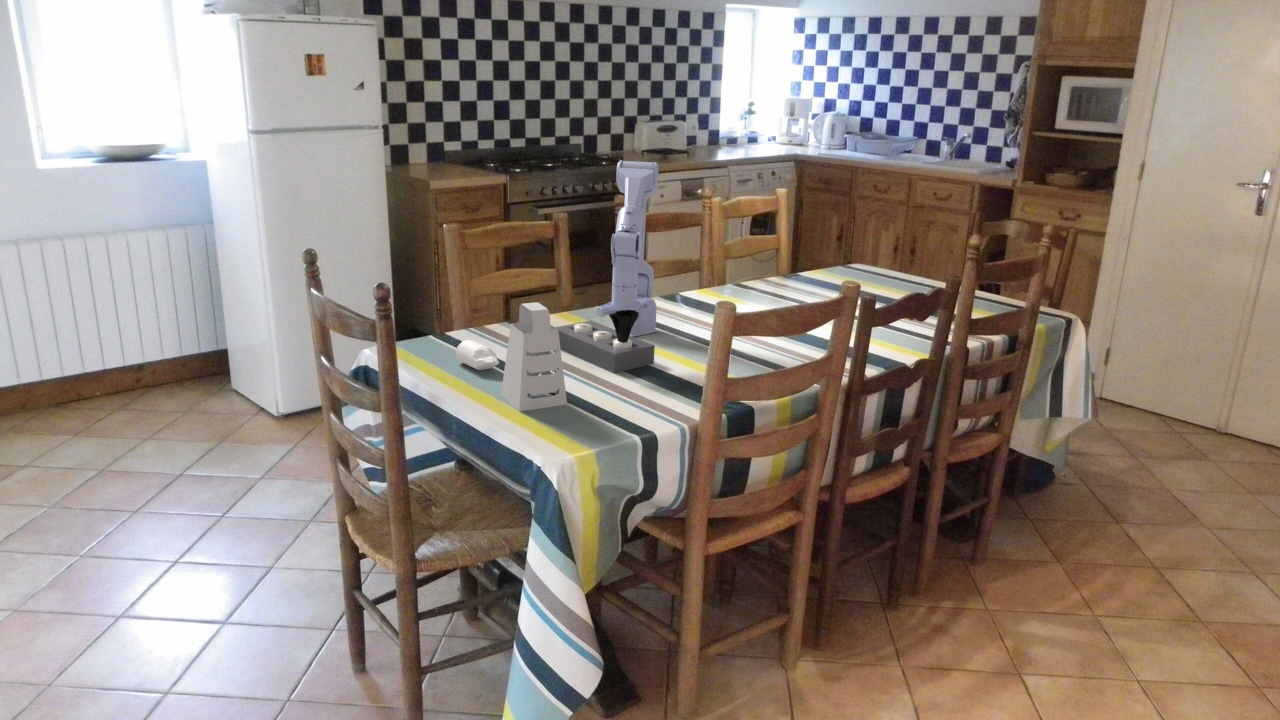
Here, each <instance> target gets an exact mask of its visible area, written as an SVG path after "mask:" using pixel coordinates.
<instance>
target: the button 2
mask: <svg viewBox="0 0 1280 720" xmlns="http://www.w3.org/2000/svg"><path fill="white" fill-rule="evenodd" d="M613 347H616V348H618V349H620V350H622V349H626V348H631V347H632V341H631V340H629V339H628V342H625V343H622V342H619V341H618V339H615V340H613Z"/></svg>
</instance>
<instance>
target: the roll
mask: <svg viewBox="0 0 1280 720" xmlns="http://www.w3.org/2000/svg"><path fill="white" fill-rule="evenodd" d="M455 349H456V350H455V356H456V357H455V358H456V359H457V361H459V362H461V363H463V364H464V365H467V366H468V367H471V368H472V369H475V370H477V371H485V370H491V369H492V368H494V367H495V366H497V365H499V364H500V361H499V360H498V357H497V356H498V355H496V353H495V351H494V350H493V349H492V348H491V347H488V346H486V345H483V344H482V343H480V342H478V341H474V340H471V339H466V340H463V341H462V342H460V343H459V344H458V346H457V347H456V348H455Z"/></svg>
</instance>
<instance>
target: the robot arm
mask: <svg viewBox="0 0 1280 720" xmlns="http://www.w3.org/2000/svg"><path fill="white" fill-rule="evenodd" d="M615 178H616V185H617V188H618V190H619V192H620V193H622V194H623V195H624V202H623V203H624V204H623V207H622V208H620V209H619V211H618V213H617V219H616V220H617V221H616V225H615V226H616V228H615V233H612V235H611V239H610V241H611V242H610V249H611V250H610V252H611V265H612V278H611V279H612V283H611V284H612V285H611V301H610V302H607V303H605V304H602V305H597V306H596V312H595V313H596V315H597V316H599V317H601V318H603V317H605V316H609V318H610V320H611V322H612V324H613V326H614V327H611V328H612V329H614V330H616V334H617V339H618V341H619V342H622V343H625V342H628V338H629V335H630V336H632V337H635V338H636V337H639V336H644V335H647V334H648V335H649V334H652V333H657V332H658V329H656V327H657V326H656V324H657V304H656V301H655V300H654V298H653V296H654V287H655V277H654V272H655V271H654V268H653V267H652V265H650V264H649V263H648V262H647V261H646V260H645V241H646V240H645V237H646V221H647V220H646V219H647V216H646V215H647V203H648V200H649V197H651V196H654V195H656V193H657V191H658V182H659V164H658V163H657V161H654V162H651V161H650V162H648V161H634V160H633V161H631V160H630V161H629V160H622V159H620V160H619V161H618V162H617V165H616V177H615Z"/></svg>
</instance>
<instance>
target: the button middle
mask: <svg viewBox="0 0 1280 720" xmlns="http://www.w3.org/2000/svg"><path fill="white" fill-rule="evenodd" d="M593 338H594V339H596V340H599V341H604V340H609V339H612V334H611V333H610V332H606V331H597V332H594V333H593Z"/></svg>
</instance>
